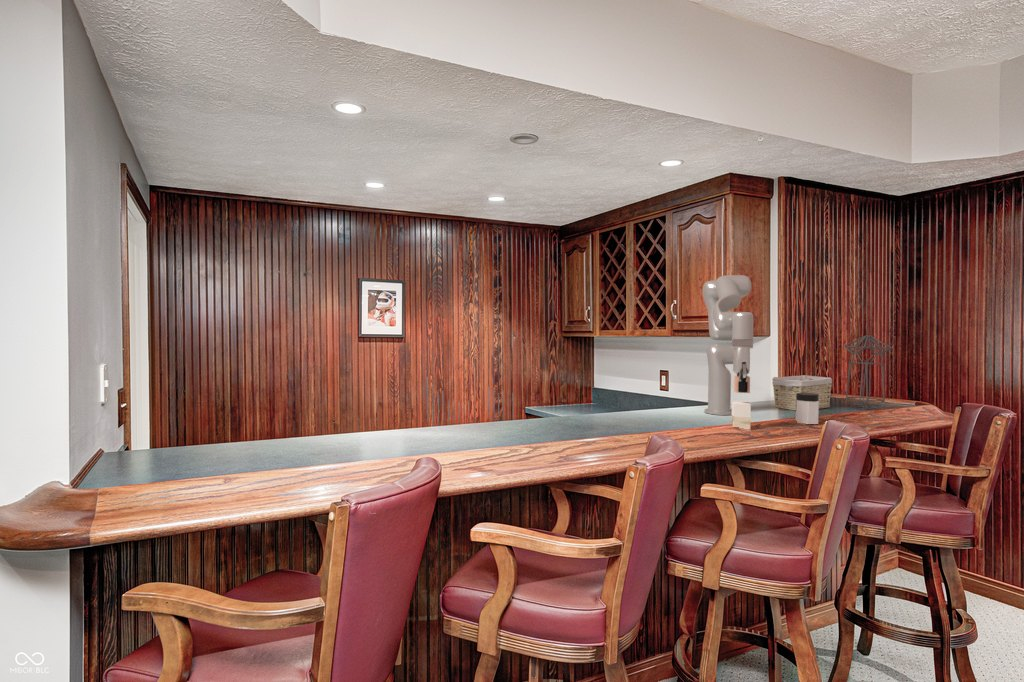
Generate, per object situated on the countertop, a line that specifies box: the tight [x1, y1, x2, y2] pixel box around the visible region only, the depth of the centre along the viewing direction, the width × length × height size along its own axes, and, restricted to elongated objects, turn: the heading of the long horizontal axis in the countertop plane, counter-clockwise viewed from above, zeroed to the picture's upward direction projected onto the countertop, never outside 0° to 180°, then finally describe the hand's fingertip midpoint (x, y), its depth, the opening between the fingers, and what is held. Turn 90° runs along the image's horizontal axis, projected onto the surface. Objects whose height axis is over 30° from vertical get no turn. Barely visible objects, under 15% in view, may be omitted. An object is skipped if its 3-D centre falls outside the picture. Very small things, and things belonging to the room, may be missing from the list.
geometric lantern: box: [843, 334, 893, 410], centre depth 274 cm, size 16×16×35 cm
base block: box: [731, 415, 752, 430], centre depth 223 cm, size 6×6×5 cm
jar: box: [795, 393, 820, 425], centre depth 235 cm, size 9×8×12 cm
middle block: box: [731, 401, 752, 417], centre depth 223 cm, size 6×6×5 cm
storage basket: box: [771, 374, 833, 411], centre depth 276 cm, size 24×16×15 cm
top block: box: [733, 375, 751, 394], centre depth 222 cm, size 5×5×6 cm
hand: (741, 390), depth 222 cm, fingers closed on top block, 4 cm apart
